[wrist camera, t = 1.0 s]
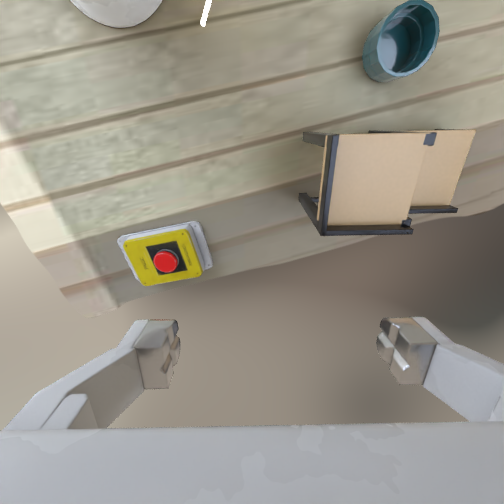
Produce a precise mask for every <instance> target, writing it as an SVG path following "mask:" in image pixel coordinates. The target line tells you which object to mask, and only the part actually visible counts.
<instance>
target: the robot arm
mask: <svg viewBox="0 0 504 504" xmlns="http://www.w3.org/2000/svg"><path fill="white" fill-rule="evenodd" d="M70 1H71V2H72V3H73V4H74V5H75V6H76V7H77V8H78V9H79V10H80V11H81V12H83V13H84V14H85V15H87V16H88V17H90V18H91V19H93V20H95V21H97V22H99V23H101V24H104V25H107V26H111V27H117V28H124V27H131V26H135V25H137V24H139V23H141V22H143V21H145V20H146V19H147V18H149V17H150V16H151V15H152V14H153V13H154V12H155V11H156V9H157V8H158V7H159V5H160V3H161V2H162V0H70ZM211 1H212V0H207V1H206V5H205V8H204V12H203V16H202V19H201V25H202V26H205V22H206V18H207V15H208V11H209V8H210V4H211ZM380 328H381V329H382V332H381V333H380V334H379V335H378V337H377V342H376V343H377V350H378V353H379V355H380V357H381V358H382V360H383V361H384V362H386V363H388V364H389V365H390V368H389V370H390V372H391V373H392V374H393V376H394V378H395V379H396V381H397V382H398V383H399V385H423V387H425V388H426V389H427V390H429V391H430V392H431V393H433V394H434V395H435V396H437V397H438V398H439V399H441V400H442V401H443V402H445V403H446V404H447V405H449V406H450V407H451V408H453V409H454V410H455V411H457V412H458V413H459V414H461V415H462V416H463V417H465V418H466V419H467V420H469V421H470V422H433V423H431V422H430V423H373V424H319V425H318V424H317V425H265V426H214V427H213V426H212V427H159V428H108V429H107V427H108V426H109V425H110V424H111V423H112V422H113V421H114V420H115V419H116V418H117V417H118V416H119V415H120V414H121V413H122V412H123V411H124V410H125V409H126V408H127V407H128V406H129V405H130V404H131V403H132V402H133V401H134V400H135V399H136V398H137V397H138V396H139V395H140V394H142V393H143V391H144V389H165V388H169V385H170V382H171V379H172V376H173V374H174V371H173V366H174V365H175V364H177V362H178V359H179V354H180V339H179V337H178V336H177V335H176V334H177V331H178V323H177V321H176V320H136V321H135V322H134V323H133V324H132V326H131V327H130V329H129V330H128V332H127V333H126V334H125V336H124V337H123V339H122V340H121V342H120V343H119V344H118V346H117V347H116V349H110V350H109V351H107V352H105V353H104V354H102V355H100V356H98V357H97V358H95V359H93V360H92V361H90V362H88V363H86V364H85V365H83V366H81V367H80V368H78V369H76V370H75V371H73V372H71V373H70V374H68V375H66V376H64V377H63V378H61V379H59V380H58V381H56V382H54V383H53V384H51V385H50V386H47V387H46V388H44V389H42V390H41V391H39V392H37V393H36V394H35V395H34V396H33V397H32V398H31V399H30V401H29V402H28V403H27V404H26V405H25V406H24V407H23V408H22V409H21V410H20V412H19V413H18V414H17V415H16V416H15V417H14V418H13V419H12V420H11V421H10V423H9V424H8V425H7V426H6V427H5V428H4V429H3V430H0V504H504V364H502V363H500V362H498V361H496V360H494V359H491V358H489V357H487V356H485V355H482V354H480V353H478V352H476V351H474V350H471V349H469V348H467V347H464V346H462V345H460V344H455V343H453V342H452V341H451V340H450V339H449V338H448V337H447V336H445V335H444V334H443V333H442V332H441V331H440V330H439V329H438V328H436V327H435V326H434V325H433V324H432V323H431V322H430V321H428V320H427V319H426V318H424V317H406V318H383V319H382V321H381V324H380Z"/></svg>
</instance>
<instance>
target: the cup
mask: <svg viewBox="0 0 504 504" xmlns="http://www.w3.org/2000/svg"><path fill="white" fill-rule="evenodd" d="M439 32H440V31H439V18H438V15H437V13H436V12H435V10H434V8H433V6H432V5H430V4H429V3H427V2H425V1H424V0H409V1H407V2H405V3H403V4H401V5H399V6H397V7H396V8H395V9H394V10H393V11H391V12H390V13H389V14H388V15H387V16H385V17H384V18H383V19H382V20H380V21H379V22H378V23H377V24H376V26H375V27H374V28H373V29H372V30H371V31H370V33H369V35H368V37H367V39H366V41H365V43H364V48H363V55H362V60H363V65H364V69H365V71H366V72H367V74H368V75H369V77H370V78H371V79H373V80H375V81H377V82H390V81H393V80H396V79H399V78H402V77H405V76H408V75H410V74H412V73H414V72H416V71H418V70H419V69H420V68H421V67H422V66H423V65H424V64H425V63H426V62H427V61H428V60H429V58H430V56H431V54H432V53H433V51H434V49H435V47H436V44H437V40H438V36H439Z"/></svg>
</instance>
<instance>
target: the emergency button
mask: <svg viewBox="0 0 504 504" xmlns="http://www.w3.org/2000/svg"><path fill="white" fill-rule="evenodd" d="M117 241H118V244H119V246H120V248H121V250H122V252H123V254H124V256H125V258H126V260H127V262H128V264H129V266H130V268H131V270H132V272H133V274H134V276H135V278H136V279H137V280H139V281H140V282H141V283H142V285H144V286H150V285H156V284H161V283H167V282H172V281H178V280H183V279H189V278H194V277H199V276H201V274H202V272H203V270H206V269H209V268H211V267H212V265H213V260H212V257H211V254H210V251H209V248H208V245H207V242H206V239H205V236H204V233H203V230H202V227H201V224H200V223H199V222H197V221H191V222H186V223H181V224H176V225H171V226H166V227H162V228H157V229H152V230H147V231H142V232H137V233H132V234H127V235H123V236H121V237H119V238H118V240H117Z"/></svg>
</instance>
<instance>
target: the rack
mask: <svg viewBox="0 0 504 504" xmlns="http://www.w3.org/2000/svg"><path fill="white" fill-rule="evenodd" d="M475 132H476V130H465V129H435V130H426V131H369V133H368V134H330V133H319V132H303V141H304V142H308V143H311V144H315V145H318V146H322V147H325V148H324V157H323V166H322V176H321V185H320V194H319V197H309V196H308V195H307V193H299V202H300V203H301V205H302V206H303V208H304V210H305V211H306V213H307V214H308V216H309V218H310V219H311V221H312V222H313V224H314V226H315V227H316V229H317V230H318V232H319V234H320V235H321V236H334V235H392V234H393V235H394V234H412V233H413V229H412V228H410V224H411V221H412V219H411V218H409V217H407V216H408V214H410V213H457V210H458V208H455V207H453V206H450V203H451V200H452V197H453V194H454V191H455V189H456V186H457V183H458V180H459V177H460V175H461V172H462V169H463V166H464V163H465V161H466V158H467V155H468V152H469V149H470V147H471V144H472V141H473V138H474V135H475ZM314 202H319V204H318V207H317V206H316V204H315V203H314Z"/></svg>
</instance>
